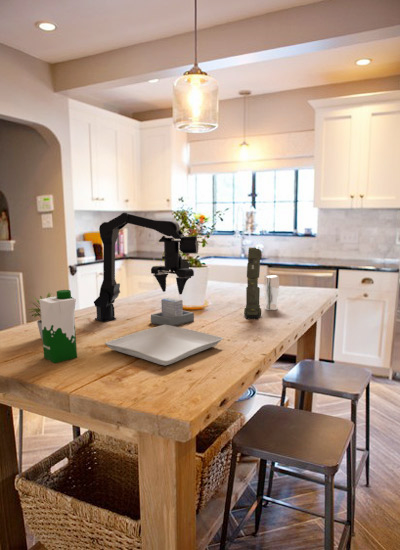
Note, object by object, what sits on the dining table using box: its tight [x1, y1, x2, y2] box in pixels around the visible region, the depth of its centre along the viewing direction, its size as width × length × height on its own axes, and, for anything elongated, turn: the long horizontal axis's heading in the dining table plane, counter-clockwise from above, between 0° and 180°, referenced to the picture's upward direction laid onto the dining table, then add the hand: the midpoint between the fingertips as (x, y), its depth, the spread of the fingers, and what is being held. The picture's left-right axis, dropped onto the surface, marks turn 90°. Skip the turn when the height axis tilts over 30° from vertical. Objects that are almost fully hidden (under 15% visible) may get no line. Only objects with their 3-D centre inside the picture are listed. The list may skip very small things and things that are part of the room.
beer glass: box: [263, 274, 280, 311], centre depth 183 cm, size 7×7×15 cm
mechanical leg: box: [243, 247, 263, 320], centre depth 171 cm, size 14×7×30 cm, turn 168°
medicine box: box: [160, 297, 184, 318], centre depth 161 cm, size 8×4×9 cm, turn 49°
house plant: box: [28, 292, 57, 341], centre depth 141 cm, size 14×14×16 cm
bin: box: [150, 310, 195, 327], centre depth 161 cm, size 14×11×4 cm
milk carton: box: [38, 289, 78, 364], centre depth 120 cm, size 9×9×20 cm
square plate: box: [104, 325, 224, 366], centre depth 128 cm, size 27×27×4 cm
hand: (172, 292), depth 160 cm, fingers open, 9 cm apart
